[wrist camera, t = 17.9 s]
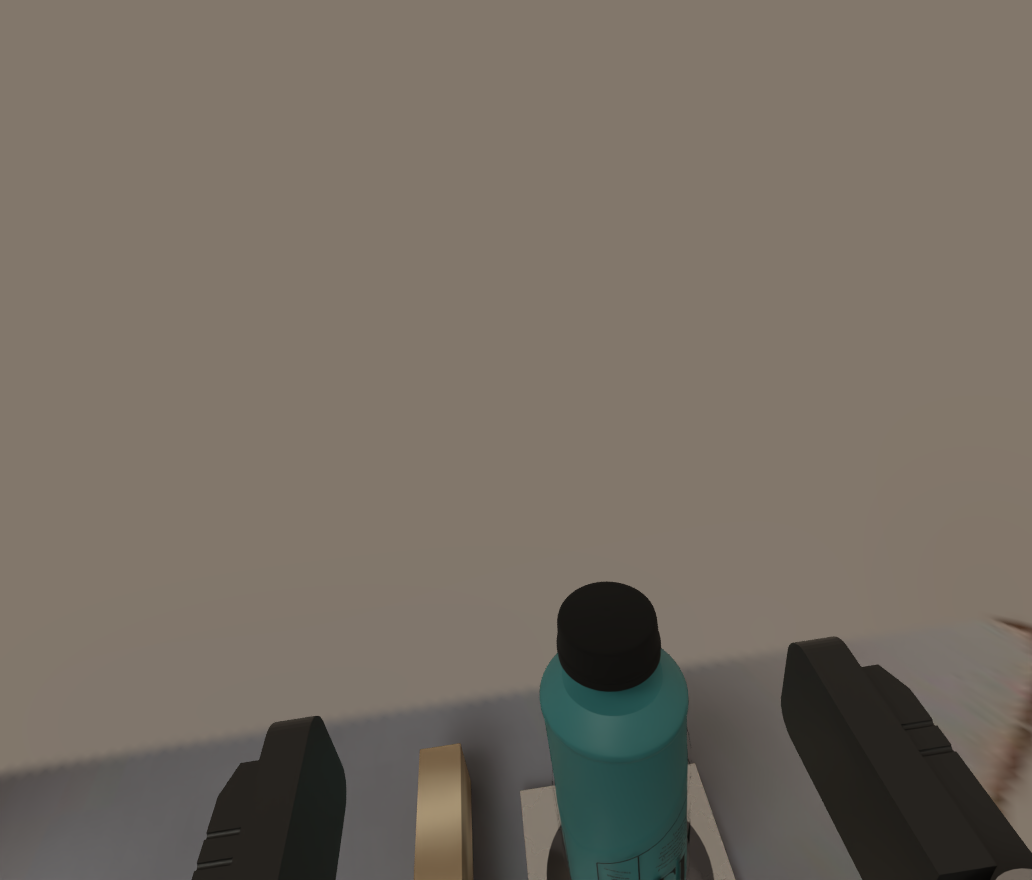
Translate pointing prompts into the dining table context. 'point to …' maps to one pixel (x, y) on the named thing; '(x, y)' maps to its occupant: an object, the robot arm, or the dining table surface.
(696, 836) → the plate
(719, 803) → the dining table surface
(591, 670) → the beverage bottle
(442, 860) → the sill
